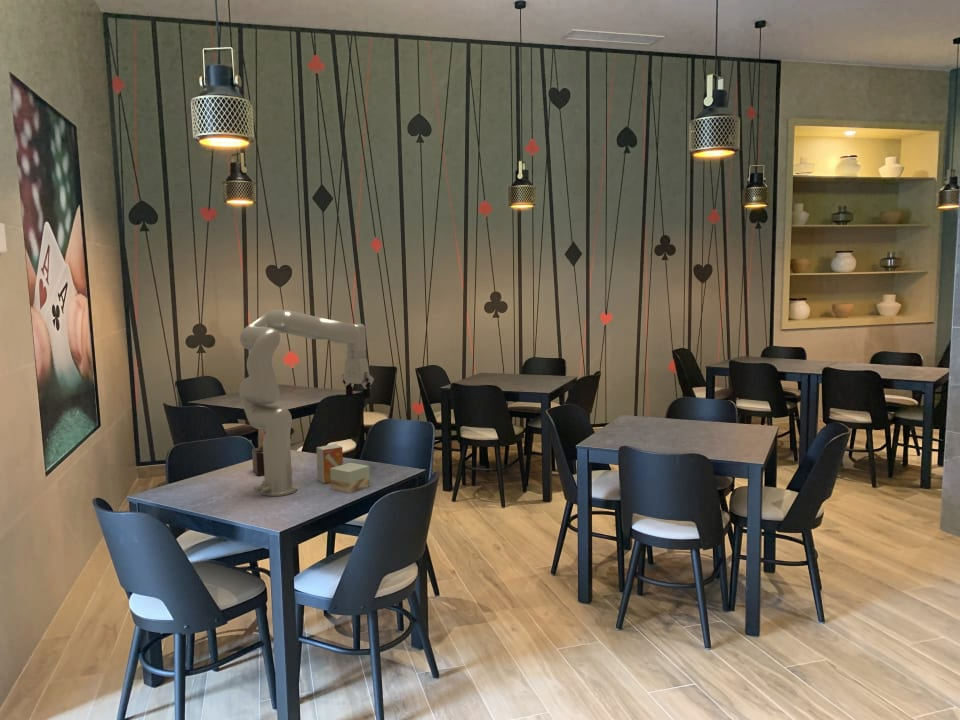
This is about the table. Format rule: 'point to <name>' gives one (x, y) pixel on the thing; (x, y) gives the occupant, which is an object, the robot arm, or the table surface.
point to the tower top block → (349, 472)
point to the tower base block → (349, 485)
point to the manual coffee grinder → (260, 459)
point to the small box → (328, 460)
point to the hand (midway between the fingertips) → (357, 397)
